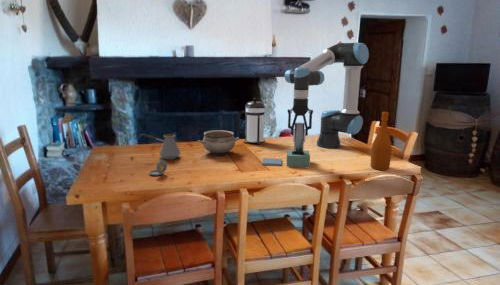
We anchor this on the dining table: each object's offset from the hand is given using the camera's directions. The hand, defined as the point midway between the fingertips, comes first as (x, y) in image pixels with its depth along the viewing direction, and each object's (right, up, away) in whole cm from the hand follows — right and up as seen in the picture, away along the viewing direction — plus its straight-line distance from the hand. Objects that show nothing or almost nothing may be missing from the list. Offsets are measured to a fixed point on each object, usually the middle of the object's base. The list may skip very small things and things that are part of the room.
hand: (299, 141), depth 195 cm
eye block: (0, -12, +3) cm, 13 cm away
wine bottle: (+42, -14, -2) cm, 45 cm away
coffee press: (-25, -1, +48) cm, 54 cm away
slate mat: (-14, -12, +4) cm, 19 cm away
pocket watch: (-71, -16, -17) cm, 75 cm away
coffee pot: (-76, -10, +9) cm, 77 cm away
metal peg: (0, -7, +2) cm, 7 cm away
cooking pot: (-45, -7, +21) cm, 50 cm away
